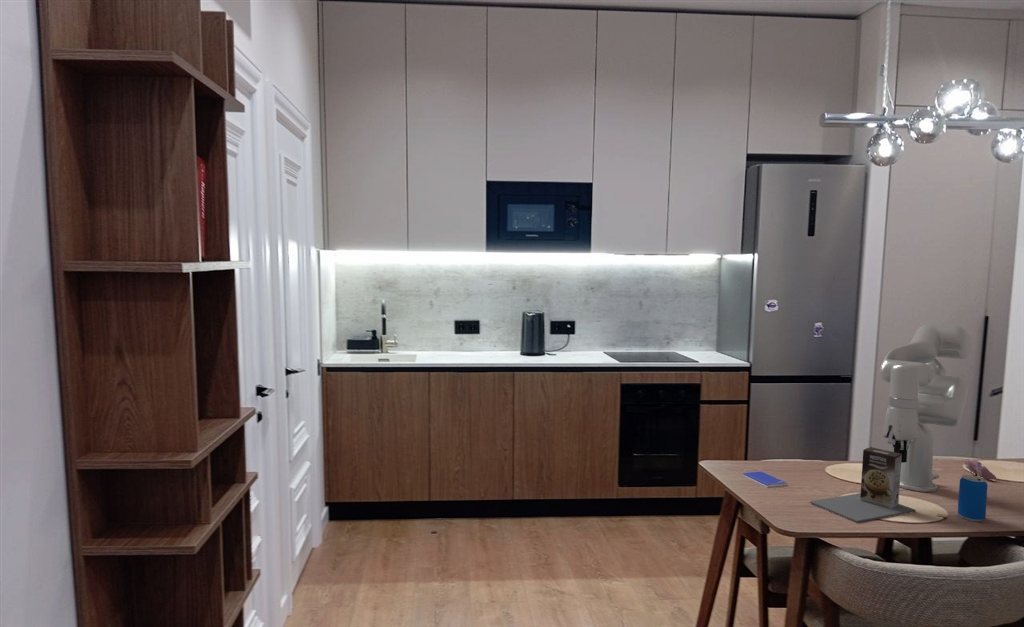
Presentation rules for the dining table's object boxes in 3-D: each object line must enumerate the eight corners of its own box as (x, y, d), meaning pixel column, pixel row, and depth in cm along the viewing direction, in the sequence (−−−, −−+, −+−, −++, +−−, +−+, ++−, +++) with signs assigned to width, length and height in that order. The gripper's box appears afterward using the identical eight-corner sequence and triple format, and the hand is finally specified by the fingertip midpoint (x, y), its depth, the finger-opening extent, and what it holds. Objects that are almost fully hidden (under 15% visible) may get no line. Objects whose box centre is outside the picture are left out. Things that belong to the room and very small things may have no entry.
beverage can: (990, 523, 173) (992, 482, 173) (965, 521, 174) (967, 480, 174) (977, 514, 180) (979, 475, 179) (953, 513, 181) (955, 473, 180)
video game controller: (968, 476, 221) (959, 459, 221) (980, 472, 220) (972, 454, 220) (985, 485, 211) (977, 467, 211) (998, 480, 210) (990, 462, 210)
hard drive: (787, 482, 203) (762, 471, 215) (766, 484, 200) (742, 472, 212) (787, 486, 203) (762, 475, 215) (766, 488, 200) (742, 477, 212)
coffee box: (859, 500, 188) (861, 449, 187) (867, 495, 192) (869, 446, 191) (892, 509, 181) (895, 456, 180) (899, 504, 185) (902, 452, 184)
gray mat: (866, 493, 196) (866, 492, 196) (915, 511, 181) (915, 509, 181) (809, 503, 186) (809, 501, 186) (856, 522, 172) (856, 520, 172)
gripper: (907, 399, 194) (904, 455, 195) (875, 402, 189) (872, 460, 190) (931, 404, 187) (927, 462, 188) (898, 407, 182) (895, 467, 183)
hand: (899, 461), depth 189 cm, fingers closed
